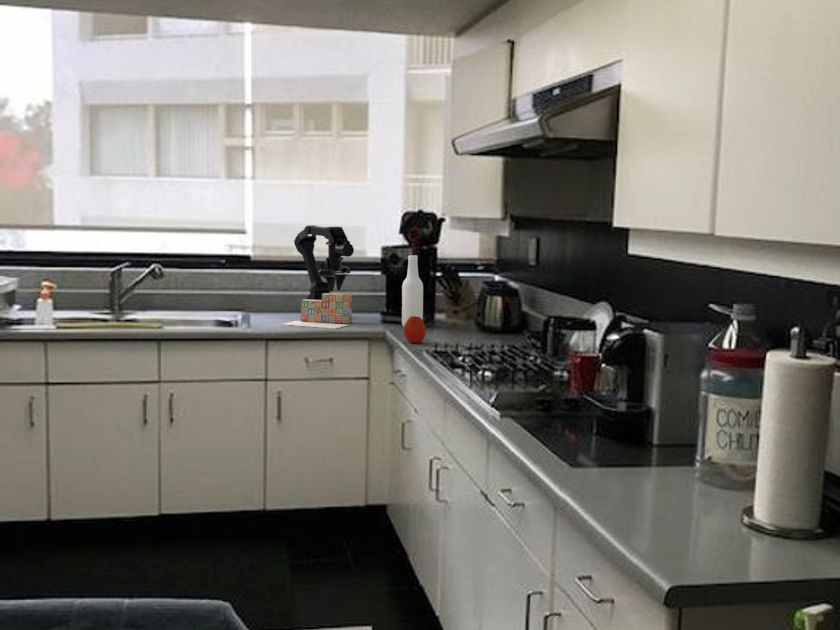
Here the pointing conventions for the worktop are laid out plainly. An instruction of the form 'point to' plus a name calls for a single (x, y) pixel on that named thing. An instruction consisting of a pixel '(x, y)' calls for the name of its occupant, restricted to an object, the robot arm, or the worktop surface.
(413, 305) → the alcohol
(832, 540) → the worktop surface
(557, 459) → the worktop surface
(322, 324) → the mat
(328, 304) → the stack of blocks
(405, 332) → the red oval lump
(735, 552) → the worktop surface
